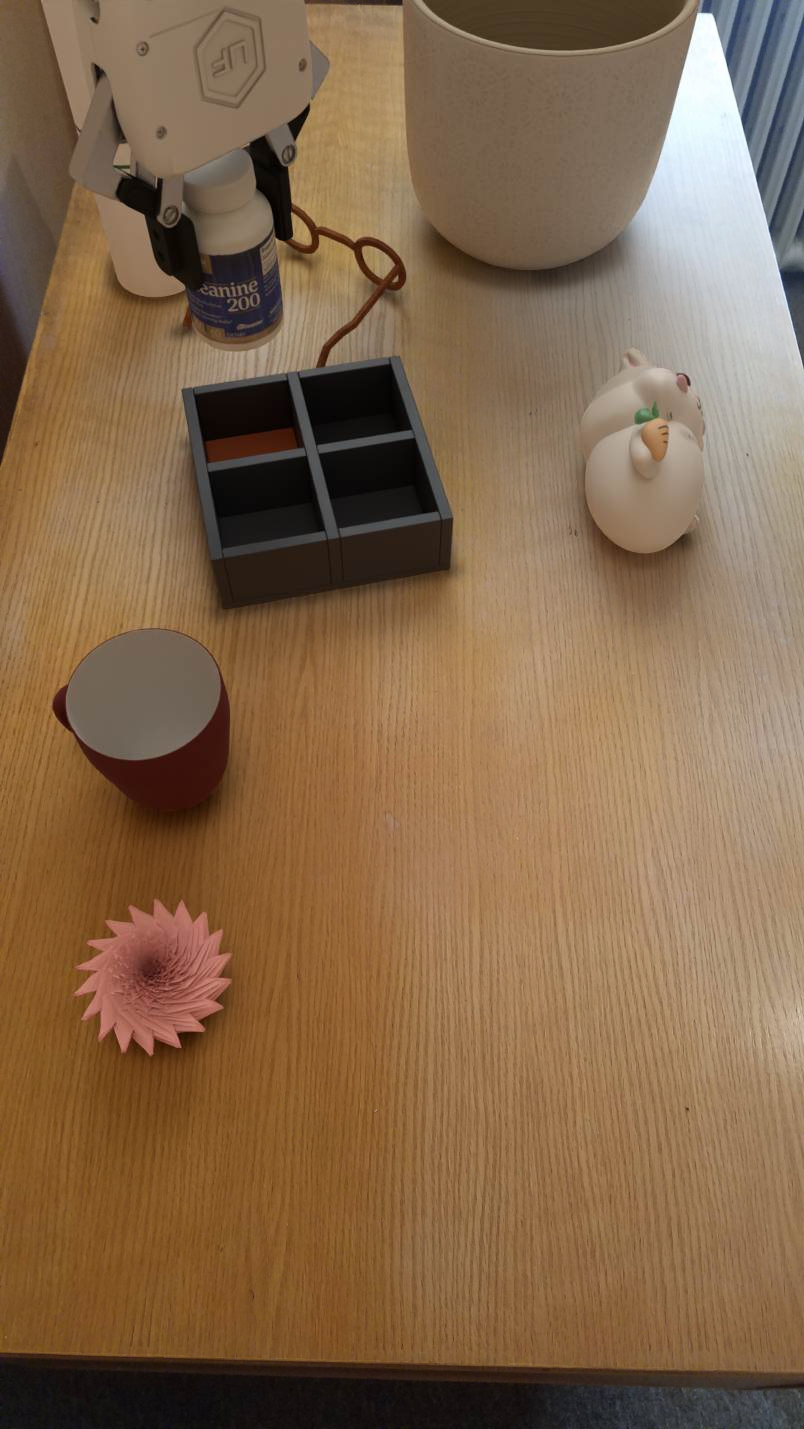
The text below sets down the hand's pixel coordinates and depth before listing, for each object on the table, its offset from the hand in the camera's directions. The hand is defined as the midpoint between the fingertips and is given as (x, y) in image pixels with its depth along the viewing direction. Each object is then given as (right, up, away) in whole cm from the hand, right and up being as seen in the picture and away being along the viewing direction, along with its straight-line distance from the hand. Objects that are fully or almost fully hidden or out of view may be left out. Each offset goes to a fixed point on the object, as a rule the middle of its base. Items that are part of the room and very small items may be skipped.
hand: (227, 250), depth 56 cm
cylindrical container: (-10, +11, +29) cm, 32 cm away
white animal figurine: (+26, -10, +16) cm, 32 cm away
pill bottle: (0, -3, +4) cm, 5 cm away
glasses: (+1, +6, +26) cm, 27 cm away
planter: (+20, +16, +32) cm, 41 cm away
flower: (-3, -40, -2) cm, 41 cm away
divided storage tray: (+4, -11, +16) cm, 19 cm away
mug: (-5, -29, +5) cm, 30 cm away
